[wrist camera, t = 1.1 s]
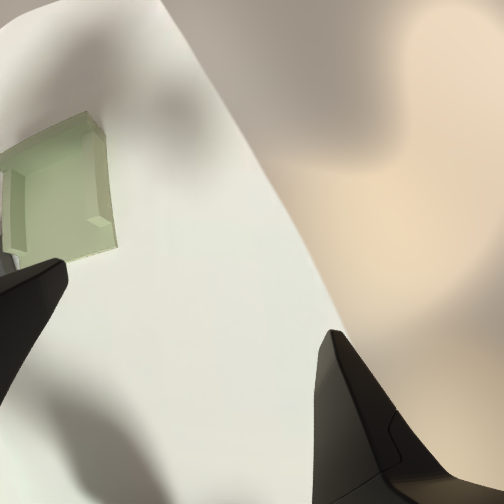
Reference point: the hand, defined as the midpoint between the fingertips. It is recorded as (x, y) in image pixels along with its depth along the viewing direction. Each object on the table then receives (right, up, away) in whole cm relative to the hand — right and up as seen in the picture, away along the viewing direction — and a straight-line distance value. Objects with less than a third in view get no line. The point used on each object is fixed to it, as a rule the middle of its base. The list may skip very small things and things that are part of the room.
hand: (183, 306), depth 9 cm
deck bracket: (-16, +6, +15) cm, 23 cm away
